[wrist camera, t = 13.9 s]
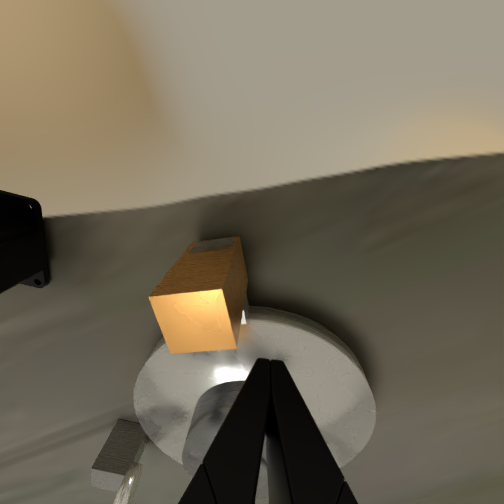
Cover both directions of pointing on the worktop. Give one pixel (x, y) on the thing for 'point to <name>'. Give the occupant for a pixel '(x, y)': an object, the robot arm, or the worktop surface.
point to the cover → (215, 430)
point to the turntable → (242, 353)
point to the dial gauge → (120, 461)
